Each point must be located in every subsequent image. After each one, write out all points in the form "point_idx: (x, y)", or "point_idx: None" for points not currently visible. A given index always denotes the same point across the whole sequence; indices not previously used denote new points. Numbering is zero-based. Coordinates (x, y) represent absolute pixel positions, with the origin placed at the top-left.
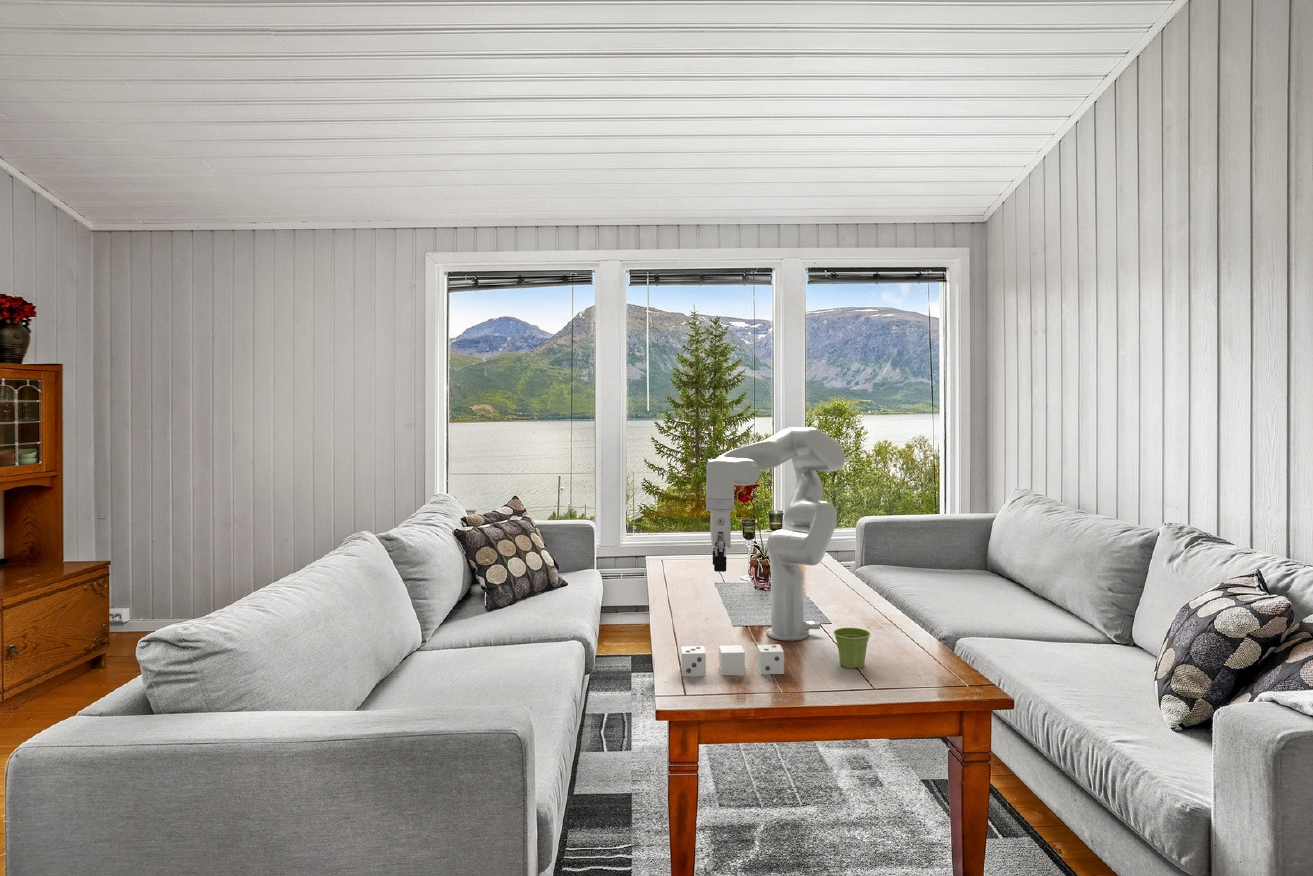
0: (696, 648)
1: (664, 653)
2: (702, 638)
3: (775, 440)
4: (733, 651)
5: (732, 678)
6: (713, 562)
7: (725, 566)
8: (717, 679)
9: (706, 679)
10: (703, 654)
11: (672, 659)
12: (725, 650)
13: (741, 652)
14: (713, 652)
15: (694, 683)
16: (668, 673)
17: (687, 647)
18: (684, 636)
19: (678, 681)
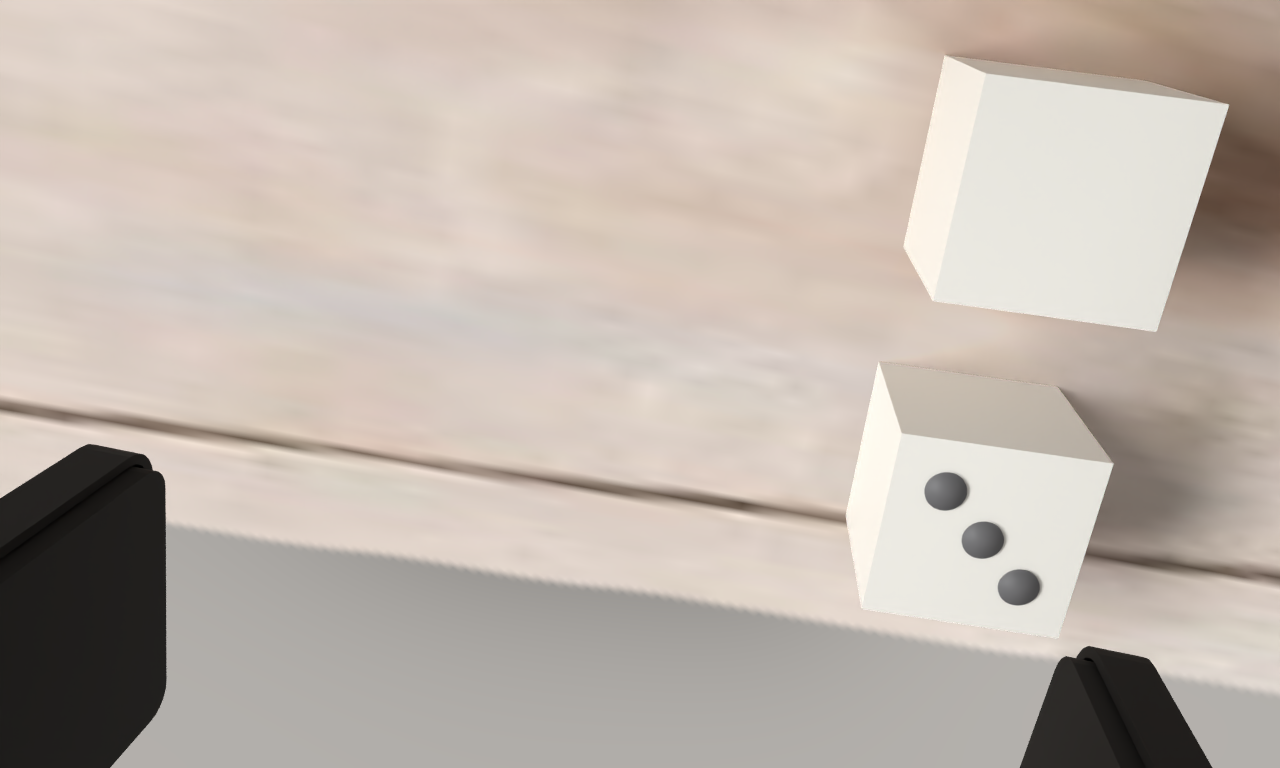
0: (954, 506)
1: (481, 560)
2: (120, 216)
3: None
4: (1156, 209)
5: None
6: (133, 734)
7: (1188, 760)
8: None
9: (1129, 397)
10: (1105, 475)
11: (625, 534)
12: (1099, 277)
13: (1217, 137)
14: (505, 207)
15: (1180, 492)
16: None
17: (903, 568)
18: (68, 347)
19: (1100, 581)
